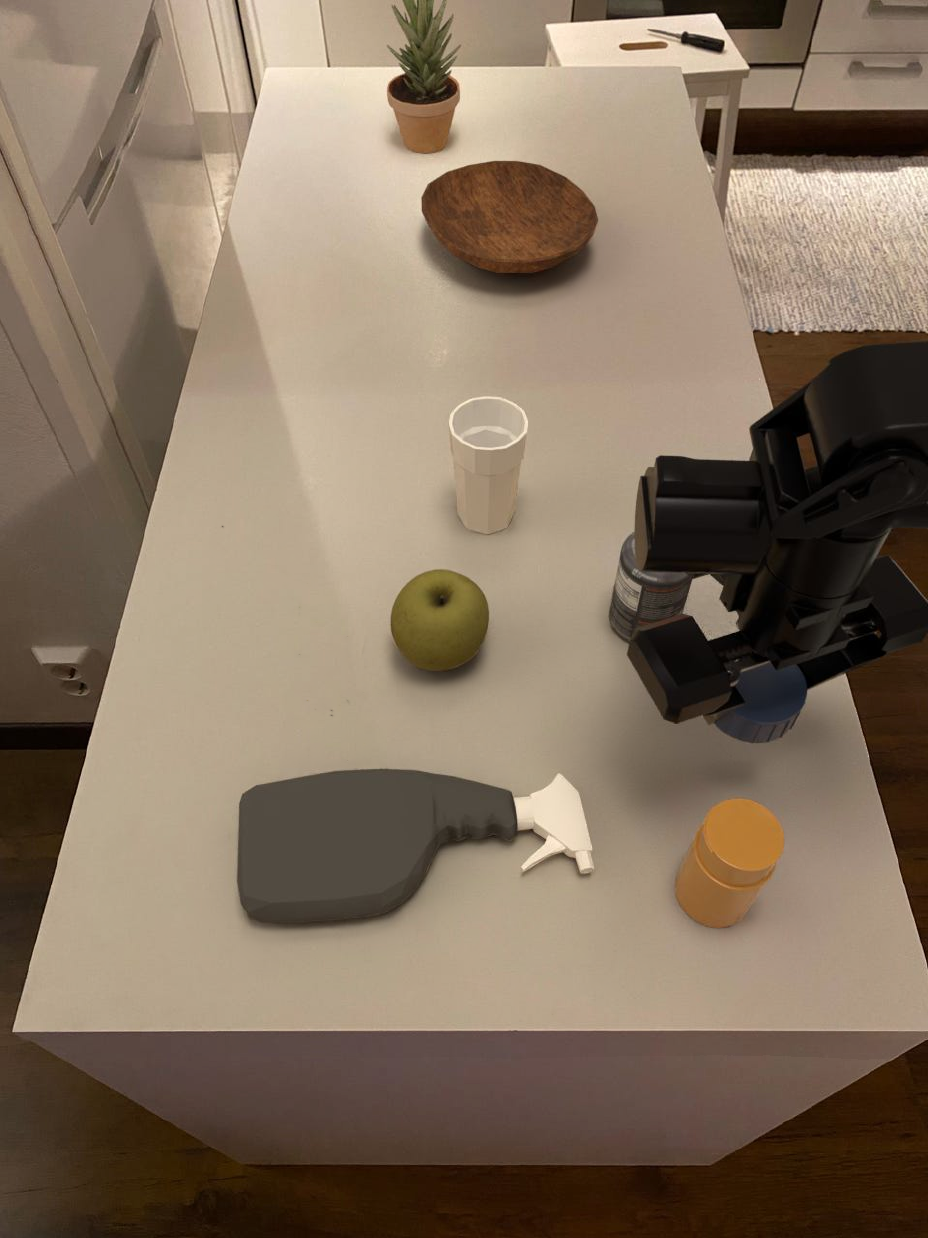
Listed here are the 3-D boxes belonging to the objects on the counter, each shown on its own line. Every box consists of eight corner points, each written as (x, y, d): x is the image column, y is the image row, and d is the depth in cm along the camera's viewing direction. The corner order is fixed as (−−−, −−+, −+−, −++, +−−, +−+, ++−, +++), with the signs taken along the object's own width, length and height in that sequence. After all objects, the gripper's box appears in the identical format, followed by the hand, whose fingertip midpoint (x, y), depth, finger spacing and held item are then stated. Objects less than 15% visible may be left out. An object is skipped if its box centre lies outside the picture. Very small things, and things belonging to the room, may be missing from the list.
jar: (726, 846, 68) (760, 784, 60) (764, 913, 65) (804, 857, 57) (661, 869, 67) (687, 810, 59) (697, 939, 64) (729, 886, 56)
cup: (488, 551, 85) (491, 461, 76) (435, 514, 87) (432, 423, 79) (536, 512, 88) (544, 421, 79) (483, 477, 90) (485, 385, 82)
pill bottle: (684, 603, 81) (712, 512, 72) (670, 656, 78) (698, 568, 69) (617, 585, 82) (635, 493, 73) (600, 637, 79) (617, 548, 70)
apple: (507, 650, 78) (510, 597, 73) (433, 705, 75) (431, 654, 69) (447, 596, 82) (445, 541, 76) (374, 647, 79) (367, 593, 73)
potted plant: (381, 155, 127) (366, -61, 107) (400, 122, 132) (389, -90, 113) (454, 164, 125) (452, -54, 106) (470, 130, 131) (471, -83, 111)
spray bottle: (244, 792, 71) (568, 759, 73) (241, 937, 64) (597, 897, 66) (237, 773, 68) (572, 740, 70) (233, 922, 62) (602, 881, 64)
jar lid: (685, 681, 67) (692, 659, 65) (764, 654, 69) (774, 631, 66) (732, 757, 64) (742, 736, 61) (814, 726, 65) (827, 705, 63)
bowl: (470, 317, 105) (470, 278, 101) (397, 219, 117) (394, 180, 113) (624, 275, 110) (630, 236, 106) (538, 184, 122) (541, 146, 118)
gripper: (871, 430, 60) (801, 584, 73) (604, 503, 56) (579, 653, 69) (985, 555, 54) (888, 700, 66) (694, 647, 50) (648, 783, 63)
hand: (748, 704), depth 66 cm, fingers closed on jar lid, 6 cm apart
